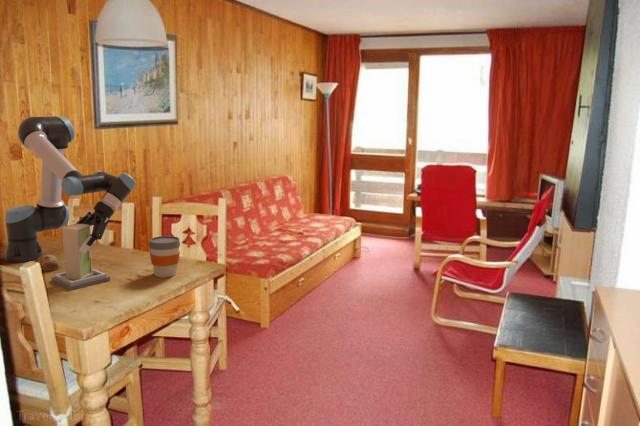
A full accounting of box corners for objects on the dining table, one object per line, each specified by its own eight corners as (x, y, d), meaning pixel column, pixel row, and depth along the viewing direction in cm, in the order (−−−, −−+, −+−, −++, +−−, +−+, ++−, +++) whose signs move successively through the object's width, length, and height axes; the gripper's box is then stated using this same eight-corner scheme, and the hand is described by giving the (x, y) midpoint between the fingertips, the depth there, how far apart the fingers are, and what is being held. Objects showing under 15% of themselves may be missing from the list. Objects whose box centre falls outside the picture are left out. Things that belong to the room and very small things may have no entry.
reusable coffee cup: (186, 274, 215) (185, 240, 212) (157, 280, 206) (156, 245, 203) (173, 267, 224) (171, 234, 221) (145, 272, 216) (143, 238, 213)
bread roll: (60, 278, 217) (67, 260, 218) (35, 273, 210) (43, 254, 211) (51, 272, 224) (58, 255, 225) (27, 267, 216) (34, 249, 217)
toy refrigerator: (81, 280, 199) (78, 229, 195) (65, 279, 201) (61, 227, 197) (95, 274, 207) (91, 224, 203) (79, 273, 208) (75, 223, 204)
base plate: (51, 280, 203) (50, 274, 202) (90, 271, 215) (89, 265, 215) (70, 290, 193) (69, 283, 193) (110, 280, 205) (109, 273, 205)
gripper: (129, 216, 203) (96, 260, 195) (98, 207, 218) (65, 247, 210) (116, 204, 198) (81, 249, 189) (85, 196, 213) (51, 237, 205)
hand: (73, 248), depth 200 cm, fingers open, 13 cm apart
